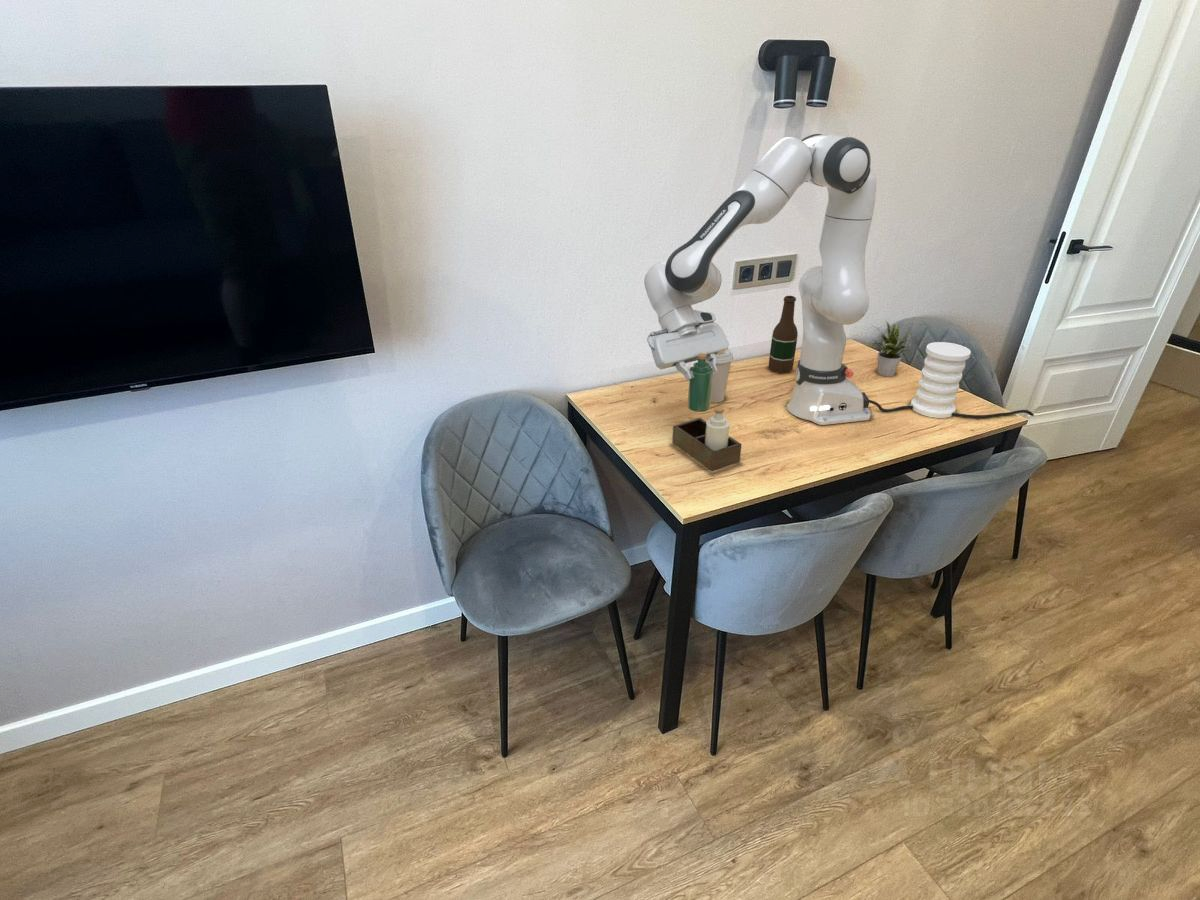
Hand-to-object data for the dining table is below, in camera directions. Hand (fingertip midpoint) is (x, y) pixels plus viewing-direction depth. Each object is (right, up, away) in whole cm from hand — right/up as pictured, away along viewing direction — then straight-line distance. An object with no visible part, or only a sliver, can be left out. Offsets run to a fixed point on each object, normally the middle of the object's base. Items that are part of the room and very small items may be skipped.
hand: (702, 376), depth 154 cm
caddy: (+2, -19, +8) cm, 21 cm away
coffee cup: (+9, -2, +37) cm, 38 cm away
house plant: (+66, +7, +52) cm, 84 cm away
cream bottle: (+4, -20, +4) cm, 21 cm away
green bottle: (0, -7, +5) cm, 9 cm away
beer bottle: (+34, +8, +55) cm, 65 cm away
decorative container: (+70, -6, +28) cm, 76 cm away
